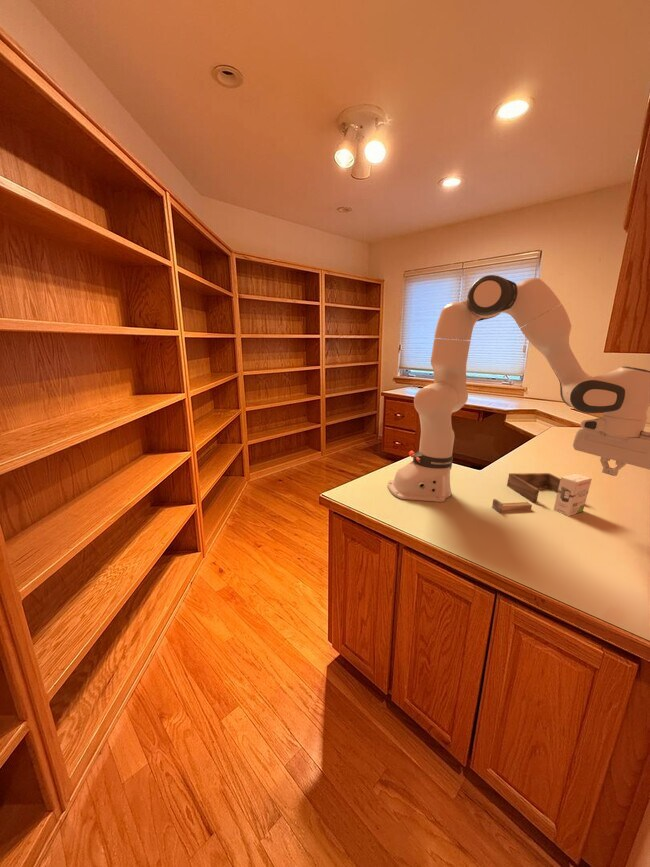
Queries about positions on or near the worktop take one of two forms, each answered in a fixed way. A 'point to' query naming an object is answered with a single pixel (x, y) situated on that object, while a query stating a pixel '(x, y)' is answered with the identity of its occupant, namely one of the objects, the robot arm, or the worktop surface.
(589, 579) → the worktop surface
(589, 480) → the ink box
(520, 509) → the beech bar
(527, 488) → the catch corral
